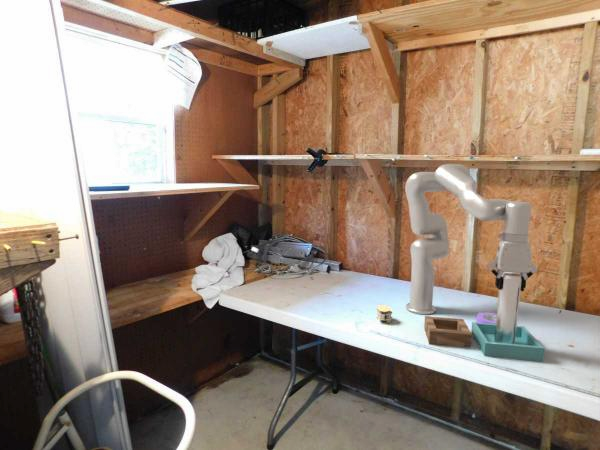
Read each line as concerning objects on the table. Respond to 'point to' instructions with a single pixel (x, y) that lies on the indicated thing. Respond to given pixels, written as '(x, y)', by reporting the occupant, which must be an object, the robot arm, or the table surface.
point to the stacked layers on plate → (384, 313)
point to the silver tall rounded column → (508, 308)
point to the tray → (522, 349)
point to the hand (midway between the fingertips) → (509, 288)
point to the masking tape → (486, 318)
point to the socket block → (447, 332)
